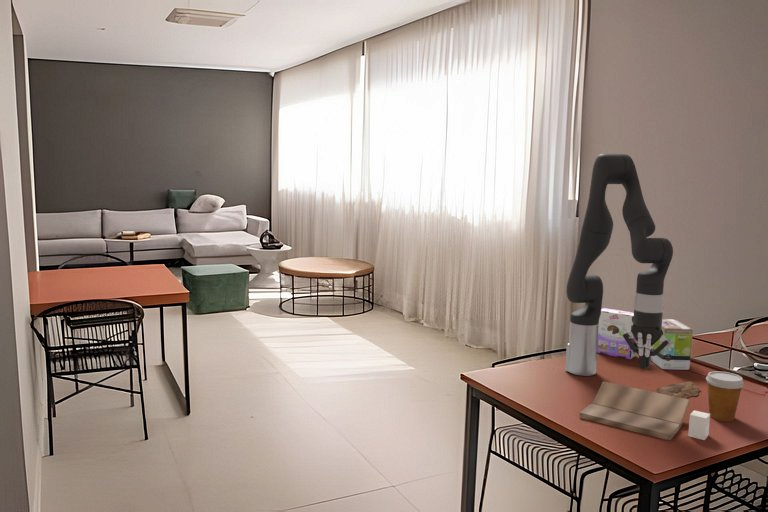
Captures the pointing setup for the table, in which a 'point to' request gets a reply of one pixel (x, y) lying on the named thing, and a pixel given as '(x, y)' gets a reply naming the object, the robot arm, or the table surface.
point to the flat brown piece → (680, 390)
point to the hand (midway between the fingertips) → (644, 368)
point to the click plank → (642, 402)
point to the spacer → (699, 425)
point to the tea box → (674, 346)
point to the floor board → (630, 421)
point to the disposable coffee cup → (723, 394)
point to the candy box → (615, 333)
